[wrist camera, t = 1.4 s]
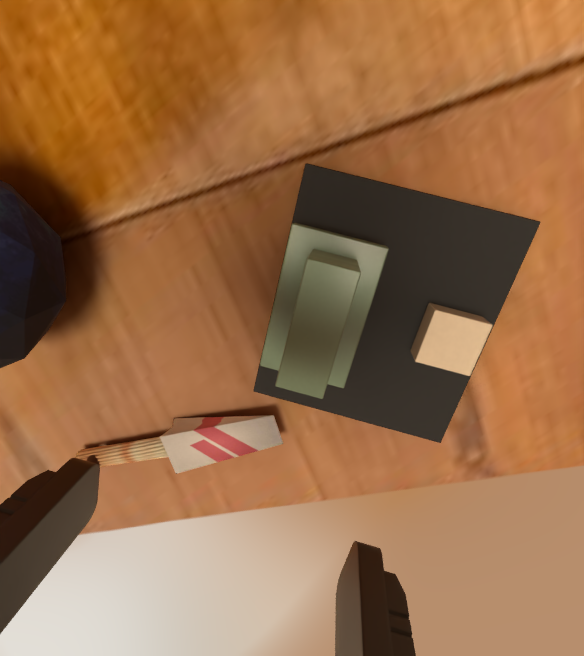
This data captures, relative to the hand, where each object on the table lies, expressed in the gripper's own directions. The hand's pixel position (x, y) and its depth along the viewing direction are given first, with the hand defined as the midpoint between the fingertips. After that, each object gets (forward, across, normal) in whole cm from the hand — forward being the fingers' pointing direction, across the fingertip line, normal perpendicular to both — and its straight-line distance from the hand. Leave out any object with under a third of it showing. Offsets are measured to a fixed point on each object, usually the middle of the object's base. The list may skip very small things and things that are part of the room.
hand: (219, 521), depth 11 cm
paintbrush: (+19, +8, +14) cm, 25 cm away
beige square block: (+19, -11, -3) cm, 22 cm away
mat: (+19, -6, -2) cm, 20 cm away
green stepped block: (+19, -2, -2) cm, 19 cm away
